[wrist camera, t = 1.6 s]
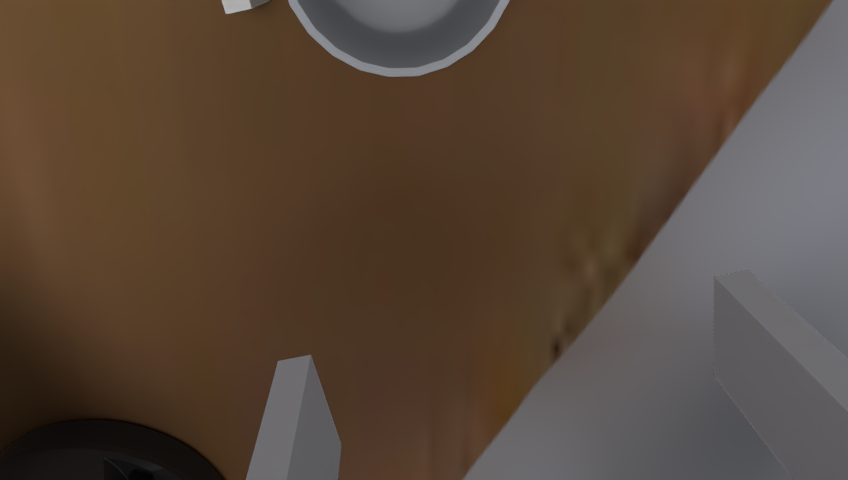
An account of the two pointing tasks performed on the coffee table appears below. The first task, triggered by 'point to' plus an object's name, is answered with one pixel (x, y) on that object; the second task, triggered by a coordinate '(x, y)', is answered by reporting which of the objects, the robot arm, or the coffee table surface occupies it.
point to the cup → (399, 31)
